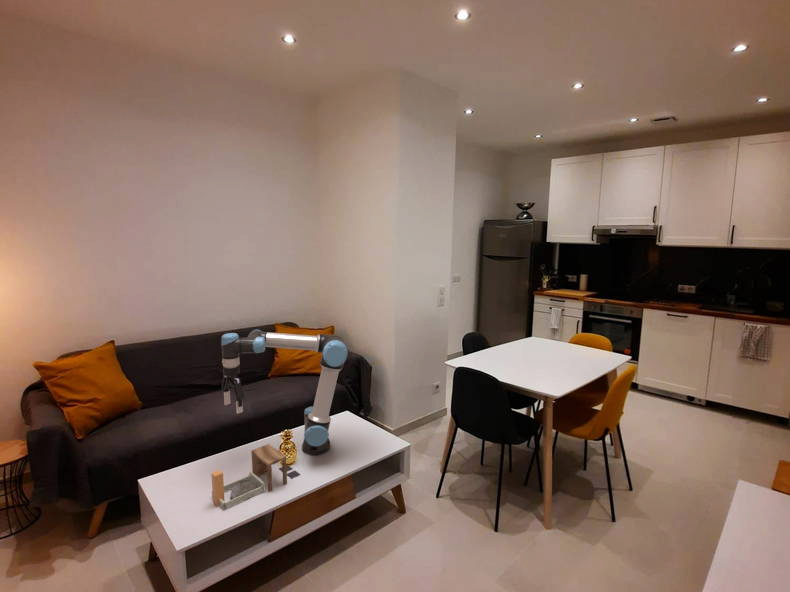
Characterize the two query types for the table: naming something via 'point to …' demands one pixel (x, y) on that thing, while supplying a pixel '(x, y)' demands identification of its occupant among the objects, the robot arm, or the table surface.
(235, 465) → the table surface
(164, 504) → the table surface
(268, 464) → the tunnel
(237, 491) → the fossilized seashell
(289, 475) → the pits
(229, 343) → the robot arm
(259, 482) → the sled
